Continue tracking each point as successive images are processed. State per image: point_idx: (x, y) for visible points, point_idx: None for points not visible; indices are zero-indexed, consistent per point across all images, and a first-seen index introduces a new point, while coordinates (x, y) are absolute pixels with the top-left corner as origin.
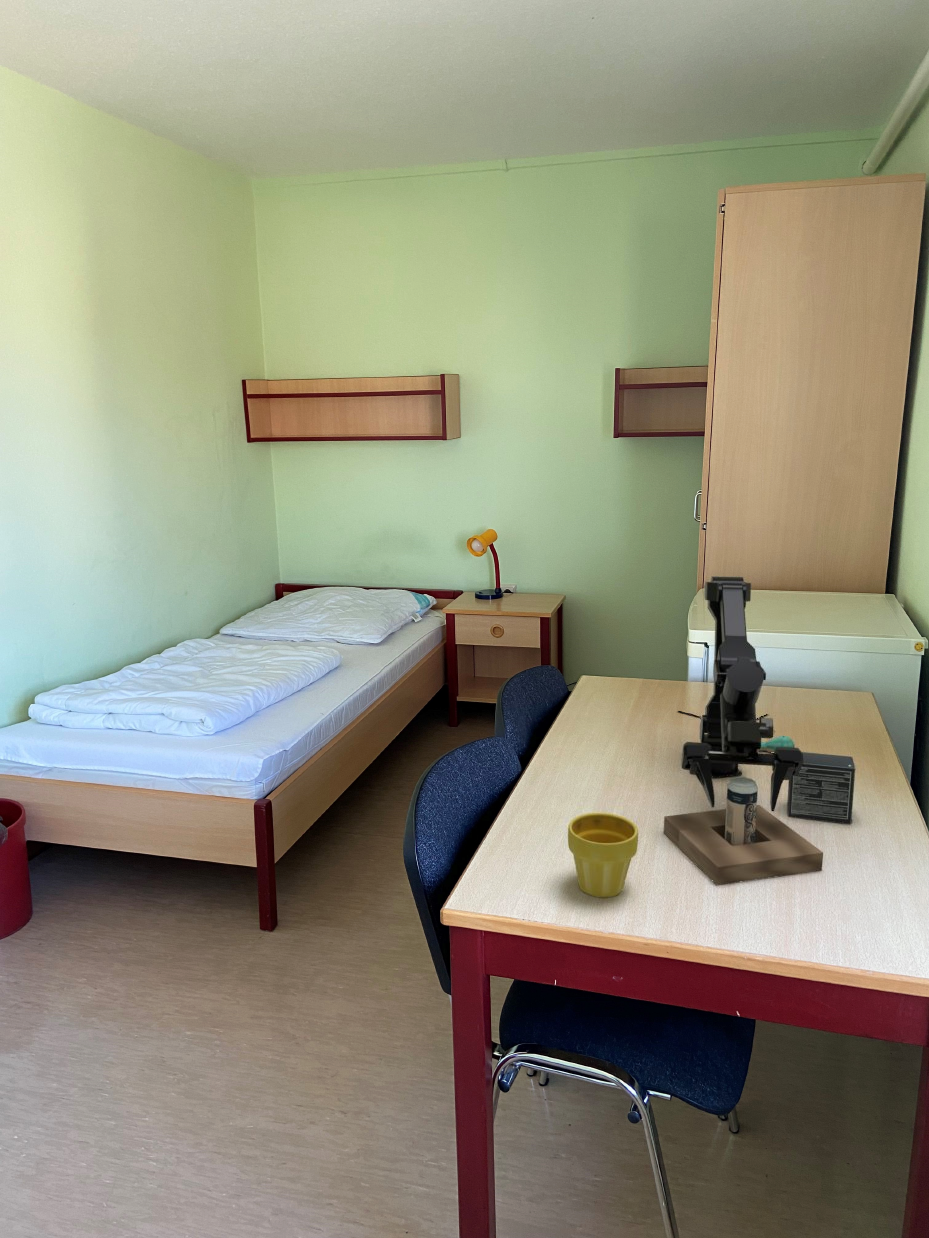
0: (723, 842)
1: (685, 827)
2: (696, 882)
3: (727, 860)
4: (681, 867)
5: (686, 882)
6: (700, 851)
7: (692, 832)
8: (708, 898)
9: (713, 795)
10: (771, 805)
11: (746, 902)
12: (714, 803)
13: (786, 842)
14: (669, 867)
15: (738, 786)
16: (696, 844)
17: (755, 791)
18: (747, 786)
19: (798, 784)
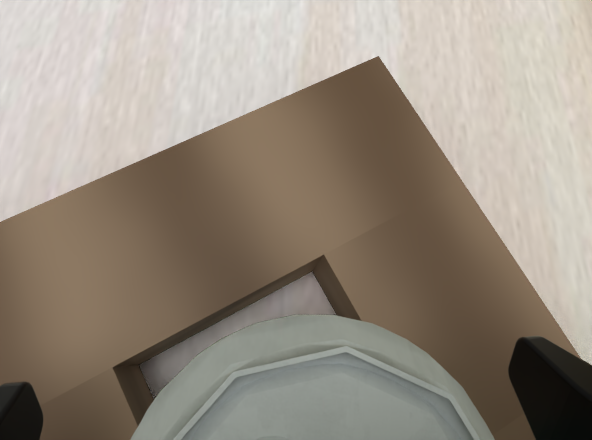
0: (364, 285)
1: None
2: (427, 106)
3: (342, 112)
4: (491, 197)
5: (459, 100)
6: (457, 181)
7: None
8: (382, 21)
9: (583, 383)
10: (19, 428)
11: (266, 18)
12: (527, 339)
13: (29, 367)
14: (531, 188)
15: (391, 360)
16: (484, 232)
17: (157, 400)
18: (268, 360)
19: None
